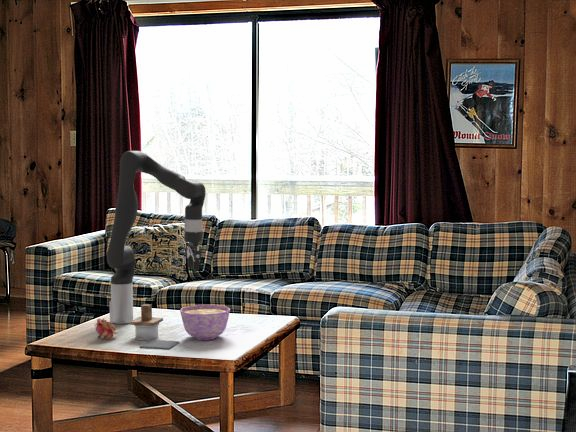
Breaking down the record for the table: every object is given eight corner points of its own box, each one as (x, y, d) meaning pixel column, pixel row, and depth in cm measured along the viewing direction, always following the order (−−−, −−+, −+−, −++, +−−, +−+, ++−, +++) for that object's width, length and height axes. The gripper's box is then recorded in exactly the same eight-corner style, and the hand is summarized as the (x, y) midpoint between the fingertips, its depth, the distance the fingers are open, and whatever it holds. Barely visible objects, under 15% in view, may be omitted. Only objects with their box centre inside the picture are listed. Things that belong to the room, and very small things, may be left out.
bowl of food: (174, 334, 341) (174, 306, 340) (221, 330, 349) (220, 303, 348) (188, 345, 322) (188, 315, 321) (237, 340, 330) (237, 311, 329)
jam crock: (130, 339, 332) (130, 324, 332) (140, 334, 342) (140, 319, 341) (153, 340, 330) (153, 325, 330) (162, 335, 340) (162, 320, 339)
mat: (139, 347, 319) (139, 346, 319) (150, 341, 330) (150, 339, 330) (169, 349, 316) (169, 347, 316) (179, 342, 327) (179, 341, 327)
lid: (129, 324, 332) (129, 306, 331) (140, 319, 341) (139, 302, 341) (153, 325, 329) (153, 307, 329) (163, 320, 339) (162, 303, 338)
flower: (92, 338, 328) (104, 321, 328) (86, 328, 335) (98, 312, 336) (111, 348, 333) (123, 332, 333) (105, 339, 340) (117, 323, 341)
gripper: (180, 228, 350) (179, 266, 351) (189, 232, 337) (189, 272, 338) (197, 228, 353) (197, 266, 354) (207, 231, 340) (207, 271, 341)
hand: (193, 269), depth 346 cm, fingers open, 8 cm apart
